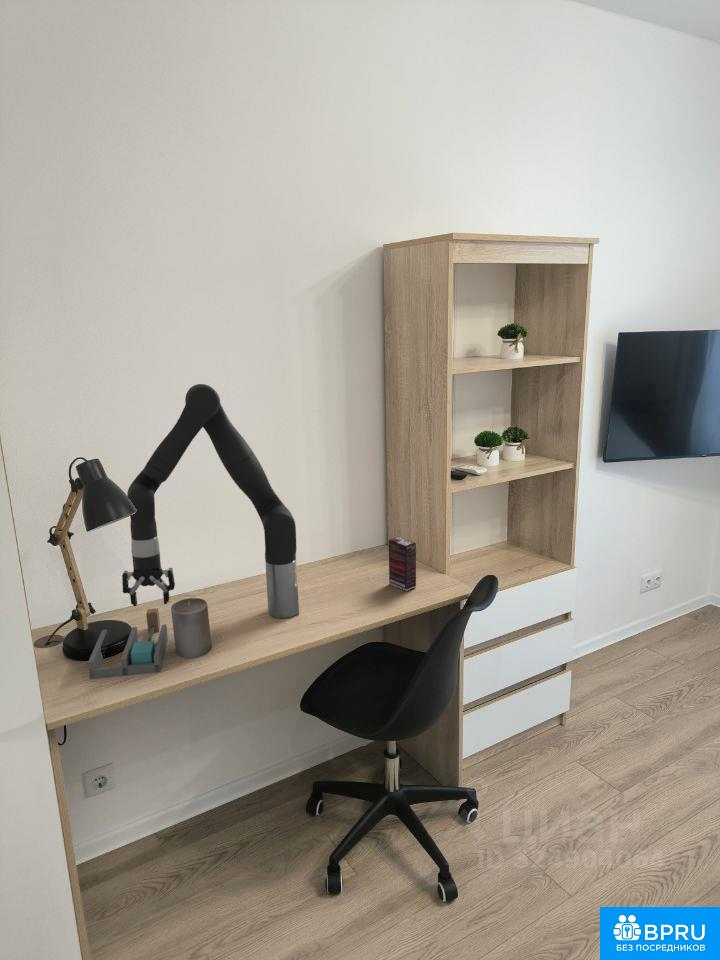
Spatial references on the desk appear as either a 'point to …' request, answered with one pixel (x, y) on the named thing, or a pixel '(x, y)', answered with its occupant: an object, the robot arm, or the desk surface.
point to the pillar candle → (191, 628)
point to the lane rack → (127, 657)
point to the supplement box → (402, 563)
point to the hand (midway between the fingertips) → (150, 604)
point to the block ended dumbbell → (146, 650)
